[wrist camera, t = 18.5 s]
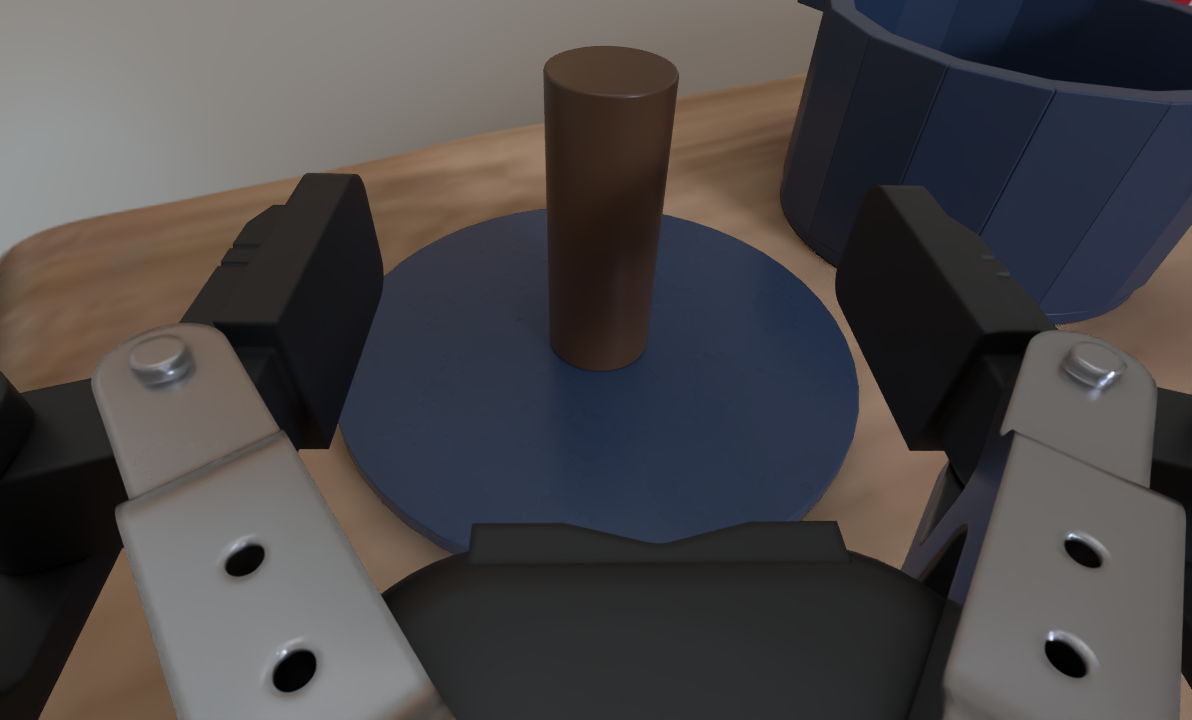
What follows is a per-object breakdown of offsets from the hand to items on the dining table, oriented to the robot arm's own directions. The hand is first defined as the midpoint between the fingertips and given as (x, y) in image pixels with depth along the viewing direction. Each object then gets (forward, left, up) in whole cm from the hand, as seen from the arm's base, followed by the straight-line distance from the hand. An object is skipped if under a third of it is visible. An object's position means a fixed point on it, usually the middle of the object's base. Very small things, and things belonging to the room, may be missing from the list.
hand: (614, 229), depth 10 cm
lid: (-1, -5, -7) cm, 8 cm away
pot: (-17, -11, -8) cm, 21 cm away
